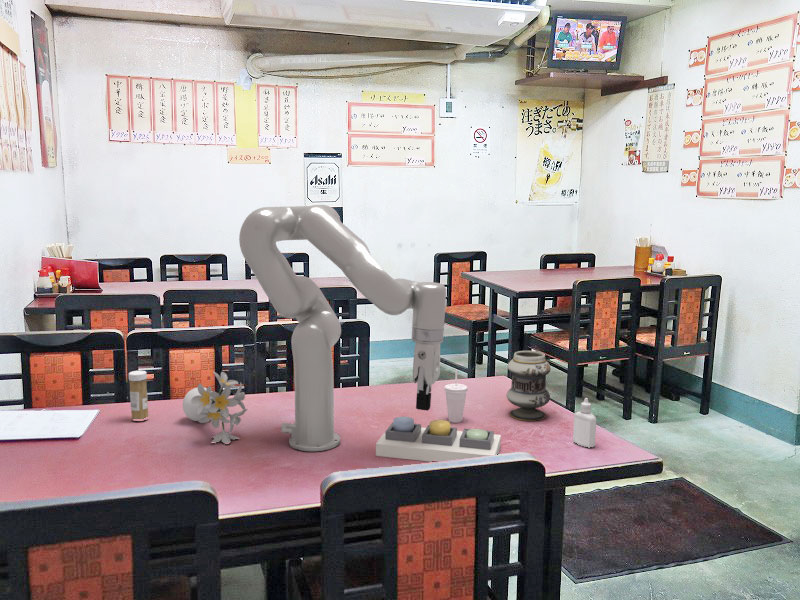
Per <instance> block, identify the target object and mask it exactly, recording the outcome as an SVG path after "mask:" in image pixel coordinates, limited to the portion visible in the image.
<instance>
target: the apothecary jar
mask: <svg viewBox="0 0 800 600" xmlns="http://www.w3.org/2000/svg"><path fill="white" fill-rule="evenodd" d="M507 369H508V371H509V372H510V373H511V387H510V388H509V389H508V391H507V393H506V398H507V400H508V401H509V403H511V404H512V405H514V406H516V407H517V408H516V409H512V410H511V411H510V413H509V415H510V417H511V418H513V419H516V420H518V421H526V422H535V421H536V420H538V421H541V419H542V420H544V419H546V413H545V412H544V411H542V410H540V409H539V408H542V407H544V406H546V405H547V404H548V403H549V402H550V399H551V394H550V392H549V391H548V389H547V388H546V387H547V385H546V384H547V382H546V381H547V380H546V379H547V375H549V373H550V372H551V369H552V367H551V365H550V362H548V361H547V360H546V355H545V353H544V352H541V351H536V350H519V351H515V352H514V354H513V358H512V359H511V360H509V362H508V364H507ZM543 418H544V419H543Z"/></svg>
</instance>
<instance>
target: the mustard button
mask: <svg viewBox="0 0 800 600" xmlns="http://www.w3.org/2000/svg"><path fill="white" fill-rule="evenodd" d="M429 425H430V430H429V433H430V434H431V435H440V436H448V435H450V427H451V422H449V420H444V419H435V420H431V421H430V422H429Z"/></svg>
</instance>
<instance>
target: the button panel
mask: <svg viewBox="0 0 800 600" xmlns="http://www.w3.org/2000/svg"><path fill="white" fill-rule="evenodd" d="M470 429H471V428H463V430H458V427H453V426H450V435H448V436H440V435H431V434H430V433H429V430H430V424H428V425H427V426H426V427H422V424H420V423H414V430H413V431H412V432H399V431H394V430H393V422H391V424H390V425H389V426H388V427H387V429H386V430H385V431H384V433H383V434H382V435H381V436H380V438H379V439H378V440H377V441H376V443H375V456H376V457H384V458H393V459H403V460H409V461H410V460H413V461H420V462H430V463H433V462H432V461H433V460H435V461H446V460H455V459H464V458H473V457H481V456H489V455H496V454H498V455H499V454H500V453H499V452H500V449H501V438H502V436H501V434H495V431H493V430H485V429H484V430H485V431H487V432H488V440H480V439H470V438H466V435H467V431H468V430H470Z"/></svg>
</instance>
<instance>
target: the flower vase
mask: <svg viewBox="0 0 800 600" xmlns="http://www.w3.org/2000/svg"><path fill="white" fill-rule="evenodd" d="M212 373H213V374H214V376H215V378H216V379H217V381H218V383H219V386H220V388H219V390H218V392H217V391H213V390H212V387H211V386H210V385H209V386H207V387H204V385H203V384H202V383H198V384H197V387H194V388H192V389H190V390H189V391H188V392H186V393H185V394H186V395H184V397H183V400H182V409H183V413H184V415H185V416H186V417H187V418H188V419H189V420H191V421H194V422H196V421H199V423H200V424H205V423H209V422H210V424H211V426H212V427H213V429H218V428H219V427H220V422H221V425H222V426H221V427H222V431H221V432H219V433H218V434H216V435H214V436H212V437H213V438H214V439H211V441H212V442H218V443H219V442H221V443H222V442H223V443H229V442H231V440H234V441H235V439H238V438H239V437H237V436H235V435H232V434H231V433H232V432H233V430H234V426H238V425H239V424H240V423H241V420H242V419H241V416H243V415H244V414H245V413H246V412H247V411H248V408H246V406H245V404H244V402H243V401H244V400H245V398H246V393H245V392H244V391H242V387H243V386H242V382H240V384H239V382H238V380H234V379H229V380H228V378H229V377H228V375H227V373H226V372H224V371H221V372H220V375H219V374H218V373H217V372H215V371H212ZM238 384H239V386H238V387H237V386H236V385H238ZM223 388H224V389H223ZM231 388H232V389H237V391H236V392H235V395H234V396H233V397H232V398H229V397H230V395H231V392H232V391H231ZM238 405H239V407H240V408H241V409H242V410H241V411H238V412H235V413H232V414H231V413H230V412H229V408H232V407H236V406H238ZM228 407H229V408H228ZM228 418H229V419H228ZM225 424H229V425H230V426H229V432H228V431H225V430H226V429H225ZM223 443H222V444H223Z"/></svg>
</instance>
